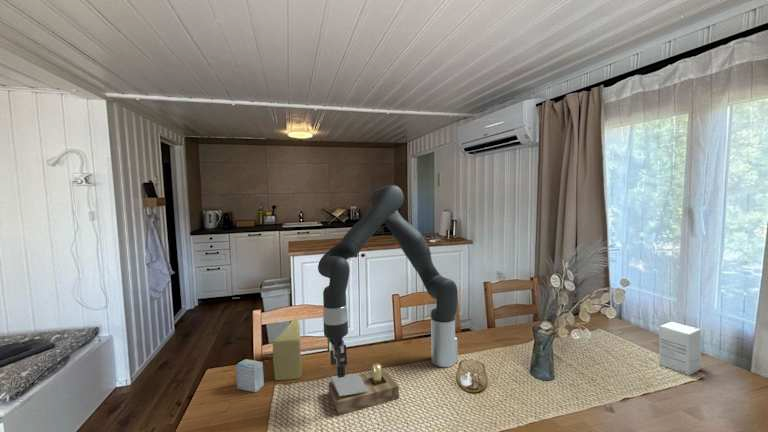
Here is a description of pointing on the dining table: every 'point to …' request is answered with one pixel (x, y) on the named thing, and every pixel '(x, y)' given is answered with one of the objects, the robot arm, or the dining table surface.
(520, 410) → the dining table surface
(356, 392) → the steel flap
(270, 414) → the dining table surface
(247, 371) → the medicine box
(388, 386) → the walnut block
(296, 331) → the cheese
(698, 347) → the supplement box
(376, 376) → the brass peg
